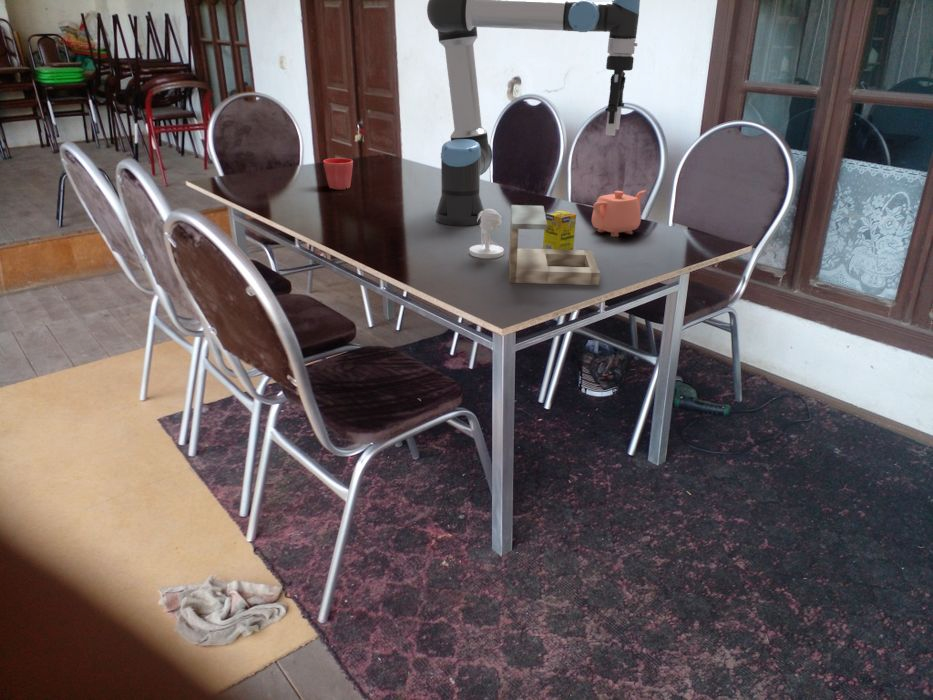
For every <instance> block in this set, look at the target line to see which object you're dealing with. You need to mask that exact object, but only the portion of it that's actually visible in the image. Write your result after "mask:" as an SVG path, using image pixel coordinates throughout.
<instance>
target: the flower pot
mask: <svg viewBox="0 0 933 700" xmlns="http://www.w3.org/2000/svg"><path fill="white" fill-rule="evenodd" d="M323 168H324V173H325V175H326V176H325V177H326V182H327V185H328V187H329V189H331V188H332V190H333V189H335V190H346V188H347V189H349V188H350V187H351V182H352V177H353V176H352V173H353V168H354V161H353V159H351V158H345V157H344V158H343V157H342V158H341V157H339V158H338V157H337V158H336V157H334V158H326V159H324V160H323Z"/></svg>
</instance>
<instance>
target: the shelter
mask: <svg viewBox="0 0 933 700" xmlns="http://www.w3.org/2000/svg"><path fill="white" fill-rule="evenodd" d="M545 214H546V212H545V207H544V205H528V204H527V205H525V204H523V205H521V204H520V205H519V204H511V207H510V233H509V253H508V255H509V257H508V263H509V264H508V265H509V267H508V268H509V269H508V271H509V274H508V275H509V283H511V284H512V283H516V284H518V283H519V284H548V285H581V286H584V285H585V286H600V279H601V271H600V269H599V266H598V263H597V261H596V258H595V257H594V252H593V251H592V250H591V249H590V250H589V249H588V250H586V249H573V250H557V249H543V248H518V246H519V243H518V241H519V230H543V231H544V230H547V221H546V216H545Z"/></svg>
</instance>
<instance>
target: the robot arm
mask: <svg viewBox="0 0 933 700" xmlns="http://www.w3.org/2000/svg"><path fill="white" fill-rule="evenodd" d="M640 2H641V0H611V1H608V2H601V1H600V2H598V1H597V2H596V1H592V0H428V3H427V6H426V15H427V19H428V21H429V22H430V23H429V24H431V26H432V27H433V28H434V29H435V30H437V36H438V42H439V44H441V46H443V47H444V51H445V53H444V54H445V60H446V70H447V76H448V86H449V95H450V103H451V111H452V120H453V128H454V130H453V132H452V133H451V134H450V140H448V141H446V142H445V143H443V144H442V147H441V153H440V160H441V162H440V163H441V164H440V165H441V166H440V167H441V178H440V179H441V183H440V184H441V195H440V198H439V201H438V205H437V208H436V212H435V221H436V222H438V223H439V224H443V225H449V226H458V227H459V226H462V227H463V226H464V227H465V226H466V227H467V226H474V225H480V223H481V217H480V218H479V219H478V214H479V213H480V212H481V211H484V210H485V209H484V206H483V203H482V200H481V199H482V198H481V195H480V187H481V186H480V185H481V184H480V183H481V182H480V181H481V178H480V177H481V176H482V175H483V174H485V173H486V172H487V170H488V169H489V168H490V167H491V164H492V161H493V149H492V147H491V145H490V144H489V138H488V132H487V130H486V129H484V128H483V126H482V118H481V109H480V107H481V106H480V97H479V89H478V77H477V69H476V59H475V48H474V43H475V41H476V40H477V39H478V28H489V29H490V28H495V29H497V28H498V29H514V30H515V29H517V30H518V29H521V30H540V31H541V30H542V31H562V32H563V31H565V32H578V33H587V32H590V33H591V32H595V33H596V32H605V33H607V32H608V33H609V34H608V37H609V38H608V45H607V53H608V55H607V57H606V65H605V67H606V70H609V71H613V74H612V75H611V77H610V86H609V87H610V88H609V90H610V91H609V96H608V102H607V103H608V105H607V107H606V108H605V112H607V115H606V127H605V136H616V130H618V131H619V130H620V124H621V117H622V116H621V115H622V109H623V108H624V107H625V103H624V101H623V99H624V98H623V97H624V89H625V83H626V73H625V72H624V71H626V72H627V71H632V70H633V68H634V60H635V58H634V56H633V55H634V54H635V50H636V48H635V47H638V42H636V41H637V33H638V26H639V25H638V24H639V16H640V5H641V3H640ZM477 219H478V222H477Z"/></svg>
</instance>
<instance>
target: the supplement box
mask: <svg viewBox="0 0 933 700" xmlns="http://www.w3.org/2000/svg"><path fill="white" fill-rule="evenodd" d="M545 216H546V221H547V230H543V240H542V241H543V243H542V244H543V245H542V249H557V250H574V245H575V235H576V234H575V233H576V232H575V231H576V224H577V223H576V221H577V214H576V213H572V212H569V211H566V210H565V211H564V210H562V209H561V210H557V211H552V212H545Z"/></svg>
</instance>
